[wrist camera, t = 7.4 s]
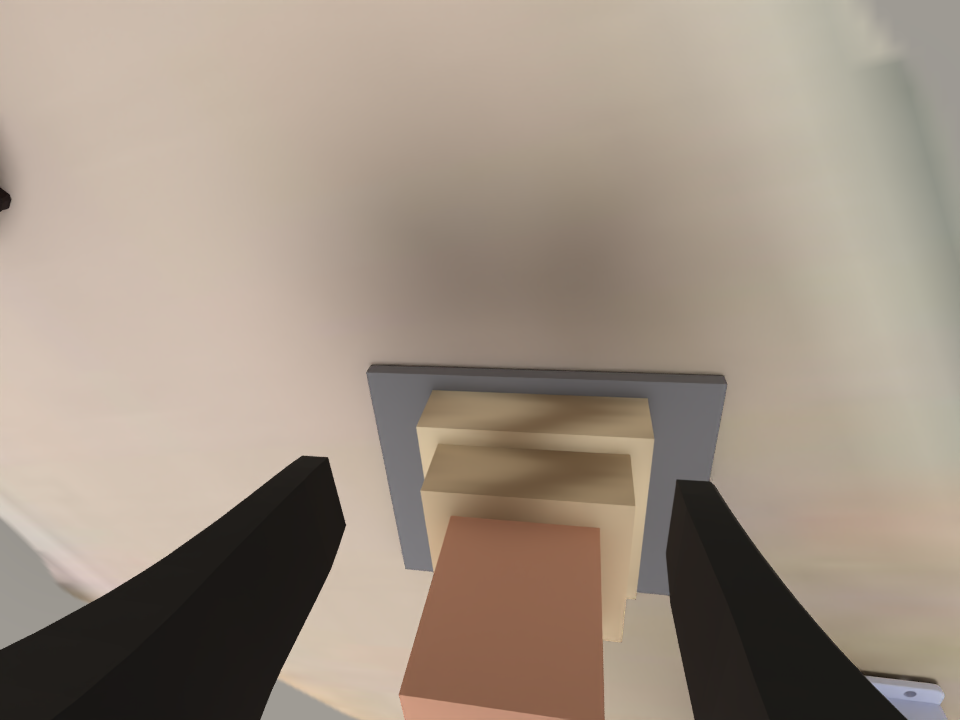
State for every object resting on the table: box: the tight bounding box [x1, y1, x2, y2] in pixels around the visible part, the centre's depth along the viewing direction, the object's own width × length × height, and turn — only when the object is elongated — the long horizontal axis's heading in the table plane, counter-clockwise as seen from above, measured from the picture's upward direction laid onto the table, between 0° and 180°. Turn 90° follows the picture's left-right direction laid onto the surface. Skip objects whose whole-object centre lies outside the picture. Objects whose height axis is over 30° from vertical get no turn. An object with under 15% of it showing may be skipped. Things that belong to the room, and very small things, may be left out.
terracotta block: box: [399, 516, 605, 720], centre depth 17 cm, size 5×5×6 cm
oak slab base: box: [416, 390, 654, 600], centre depth 23 cm, size 8×8×2 cm
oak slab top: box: [420, 444, 636, 642], centre depth 20 cm, size 7×7×2 cm
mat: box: [366, 365, 727, 596], centre depth 24 cm, size 14×12×1 cm
